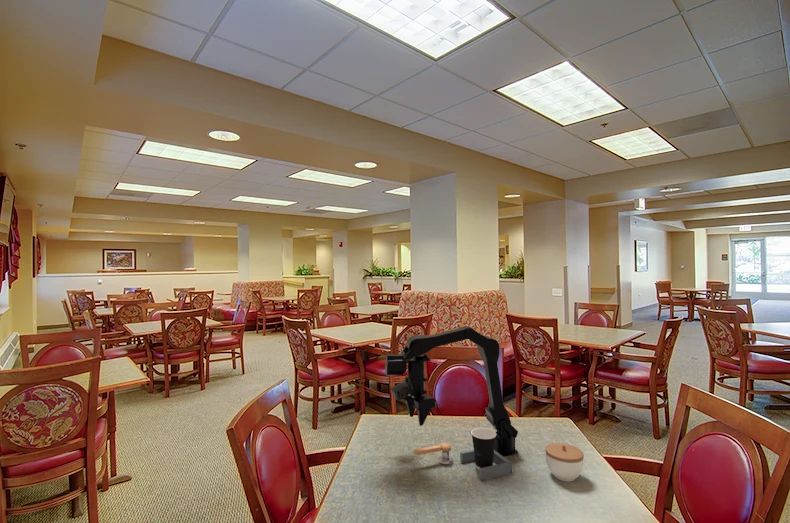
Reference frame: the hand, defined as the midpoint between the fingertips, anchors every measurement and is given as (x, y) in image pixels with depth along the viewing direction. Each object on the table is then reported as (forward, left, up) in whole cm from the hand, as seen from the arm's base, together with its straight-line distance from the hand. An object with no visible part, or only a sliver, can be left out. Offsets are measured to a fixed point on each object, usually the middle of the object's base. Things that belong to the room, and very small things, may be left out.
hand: (416, 420), depth 131 cm
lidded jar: (-38, +27, -12) cm, 48 cm away
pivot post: (-8, +6, -12) cm, 16 cm away
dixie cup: (-18, +14, -12) cm, 25 cm away
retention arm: (-3, +6, -8) cm, 10 cm away
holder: (-18, +14, -12) cm, 25 cm away
